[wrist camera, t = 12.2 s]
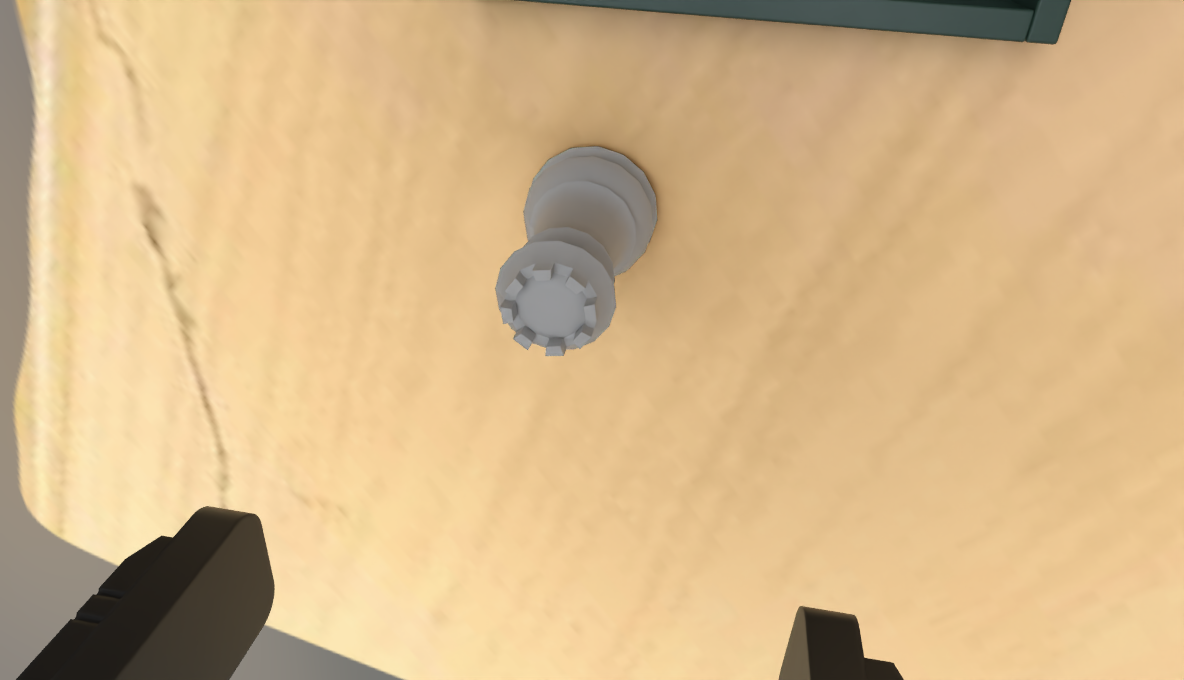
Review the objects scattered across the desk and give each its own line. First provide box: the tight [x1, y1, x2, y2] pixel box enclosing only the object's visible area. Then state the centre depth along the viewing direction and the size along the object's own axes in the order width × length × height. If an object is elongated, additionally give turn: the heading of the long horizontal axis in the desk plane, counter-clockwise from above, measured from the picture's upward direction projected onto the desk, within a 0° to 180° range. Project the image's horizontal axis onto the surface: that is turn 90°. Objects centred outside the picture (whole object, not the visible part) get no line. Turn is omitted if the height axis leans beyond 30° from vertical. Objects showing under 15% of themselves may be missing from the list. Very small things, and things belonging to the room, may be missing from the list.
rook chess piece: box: [495, 146, 657, 356], centre depth 24 cm, size 4×4×8 cm
